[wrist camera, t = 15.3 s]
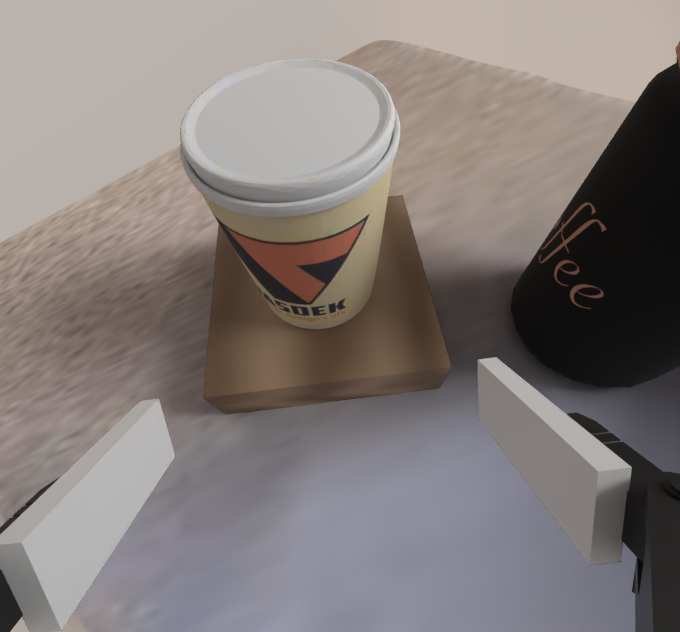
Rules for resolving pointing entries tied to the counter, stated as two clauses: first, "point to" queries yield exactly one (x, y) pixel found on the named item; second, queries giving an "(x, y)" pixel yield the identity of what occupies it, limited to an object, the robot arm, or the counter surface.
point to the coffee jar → (614, 257)
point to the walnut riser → (325, 335)
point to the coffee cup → (298, 180)
